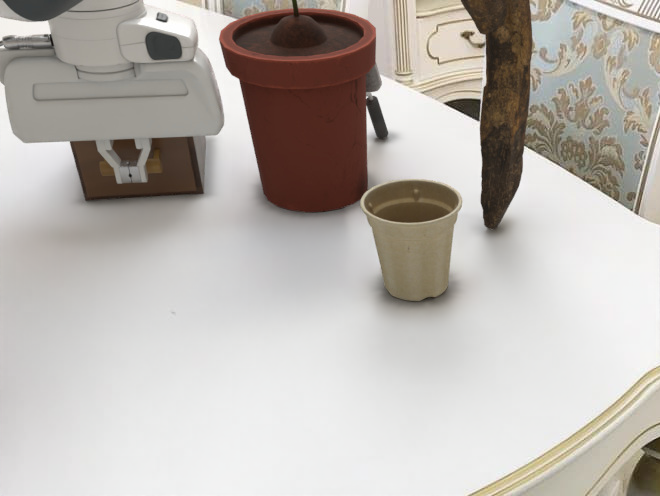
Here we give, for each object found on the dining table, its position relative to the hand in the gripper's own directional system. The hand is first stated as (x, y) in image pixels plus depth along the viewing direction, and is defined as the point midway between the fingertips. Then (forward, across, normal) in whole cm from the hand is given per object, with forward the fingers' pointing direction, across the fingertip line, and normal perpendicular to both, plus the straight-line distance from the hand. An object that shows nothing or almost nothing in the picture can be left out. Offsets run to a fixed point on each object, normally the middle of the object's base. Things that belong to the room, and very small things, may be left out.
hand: (133, 181), depth 113 cm
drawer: (+3, 0, +10) cm, 10 cm away
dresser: (+4, 0, +14) cm, 14 cm away
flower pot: (+5, +27, -17) cm, 32 cm away
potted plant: (+4, +21, +8) cm, 23 cm away
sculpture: (+5, +36, -6) cm, 37 cm away
